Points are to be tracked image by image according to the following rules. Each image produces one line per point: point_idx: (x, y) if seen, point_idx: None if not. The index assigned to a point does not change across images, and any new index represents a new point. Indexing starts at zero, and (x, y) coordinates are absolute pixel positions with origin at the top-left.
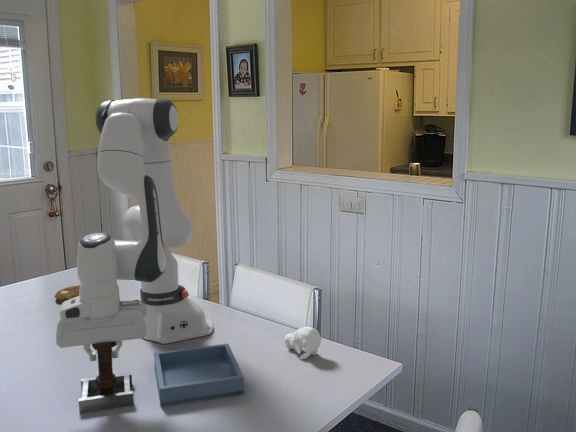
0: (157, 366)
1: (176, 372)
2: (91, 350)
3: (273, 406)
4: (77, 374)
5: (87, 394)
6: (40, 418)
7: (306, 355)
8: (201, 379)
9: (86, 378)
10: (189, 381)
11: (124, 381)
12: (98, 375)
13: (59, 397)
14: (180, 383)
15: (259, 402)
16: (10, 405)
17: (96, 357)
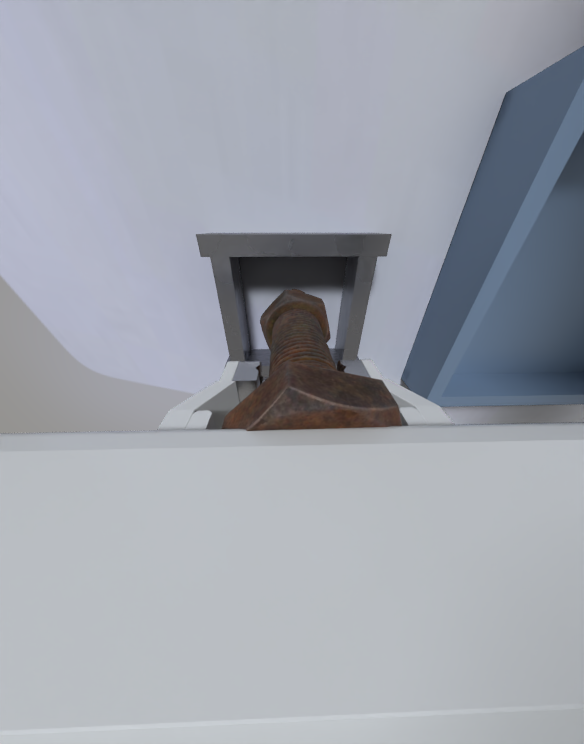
0: (496, 268)
1: (542, 222)
2: (229, 390)
3: (572, 420)
4: (136, 5)
5: (243, 345)
6: (150, 358)
7: None
8: (562, 303)
9: (217, 235)
10: (526, 306)
11: (351, 304)
12: (269, 316)
13: (150, 263)
14: (497, 310)
15: (567, 406)
16: (14, 271)
17: (261, 366)
